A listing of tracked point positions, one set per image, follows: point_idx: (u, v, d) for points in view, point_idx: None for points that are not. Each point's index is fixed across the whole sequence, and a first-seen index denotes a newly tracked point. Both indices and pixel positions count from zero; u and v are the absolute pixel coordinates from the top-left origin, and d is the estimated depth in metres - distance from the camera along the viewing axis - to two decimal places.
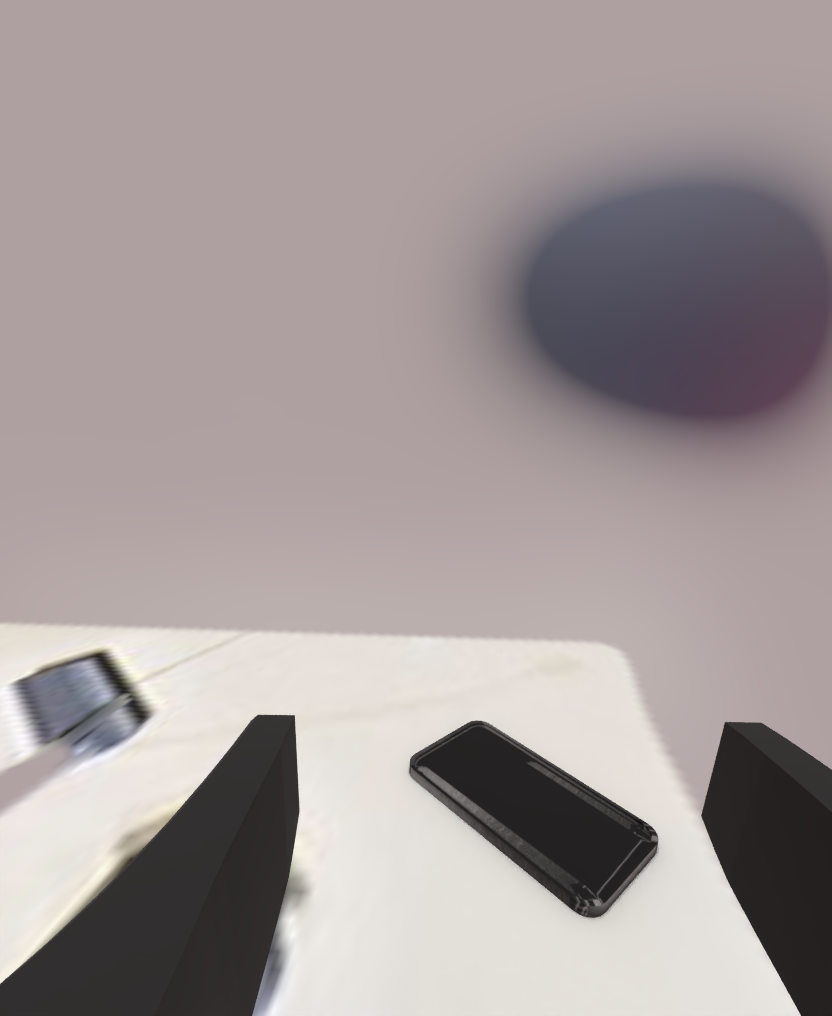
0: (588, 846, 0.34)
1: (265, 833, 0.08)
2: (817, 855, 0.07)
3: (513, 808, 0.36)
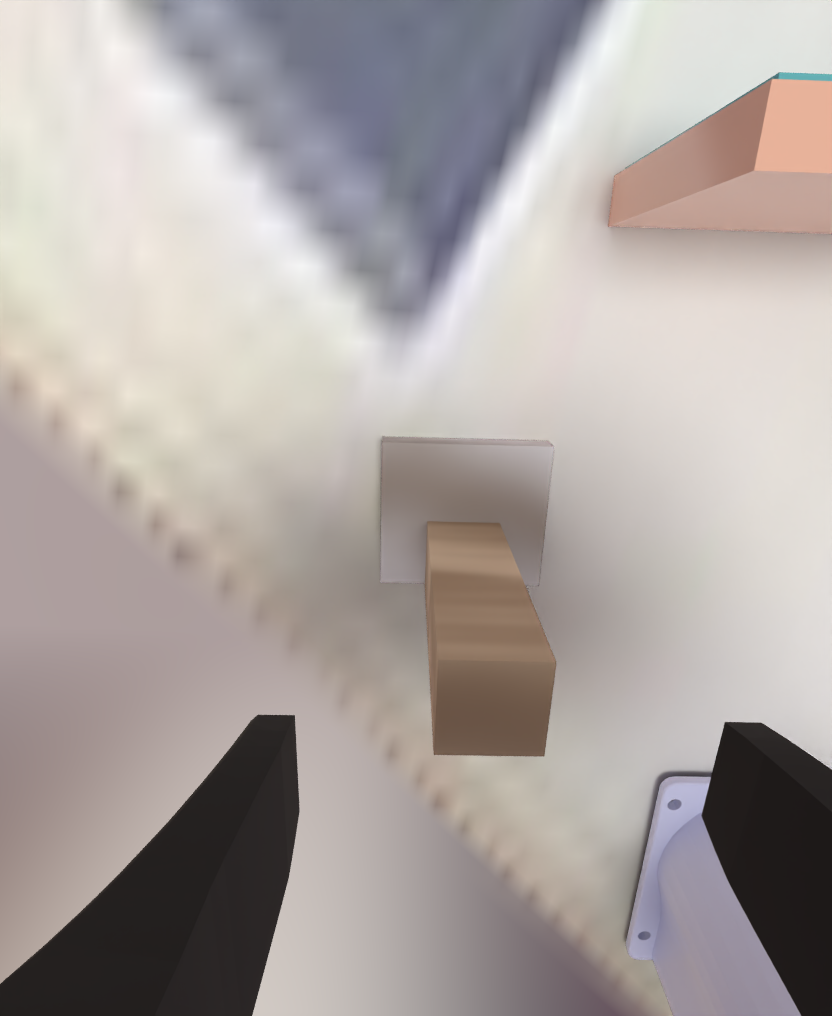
0: None
1: (265, 833, 0.08)
2: (817, 855, 0.07)
3: None
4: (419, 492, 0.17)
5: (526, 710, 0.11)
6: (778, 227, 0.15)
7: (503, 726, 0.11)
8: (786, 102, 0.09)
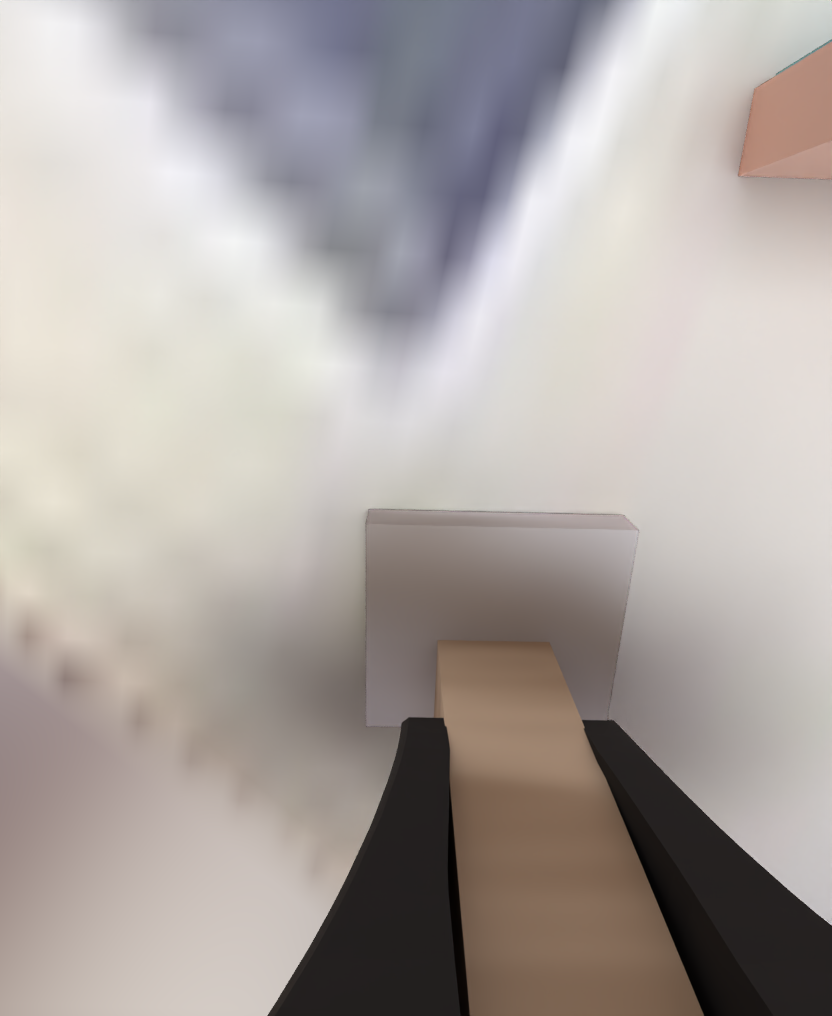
0: None
1: None
2: None
3: None
4: (424, 598, 0.11)
5: None
6: None
7: None
8: None
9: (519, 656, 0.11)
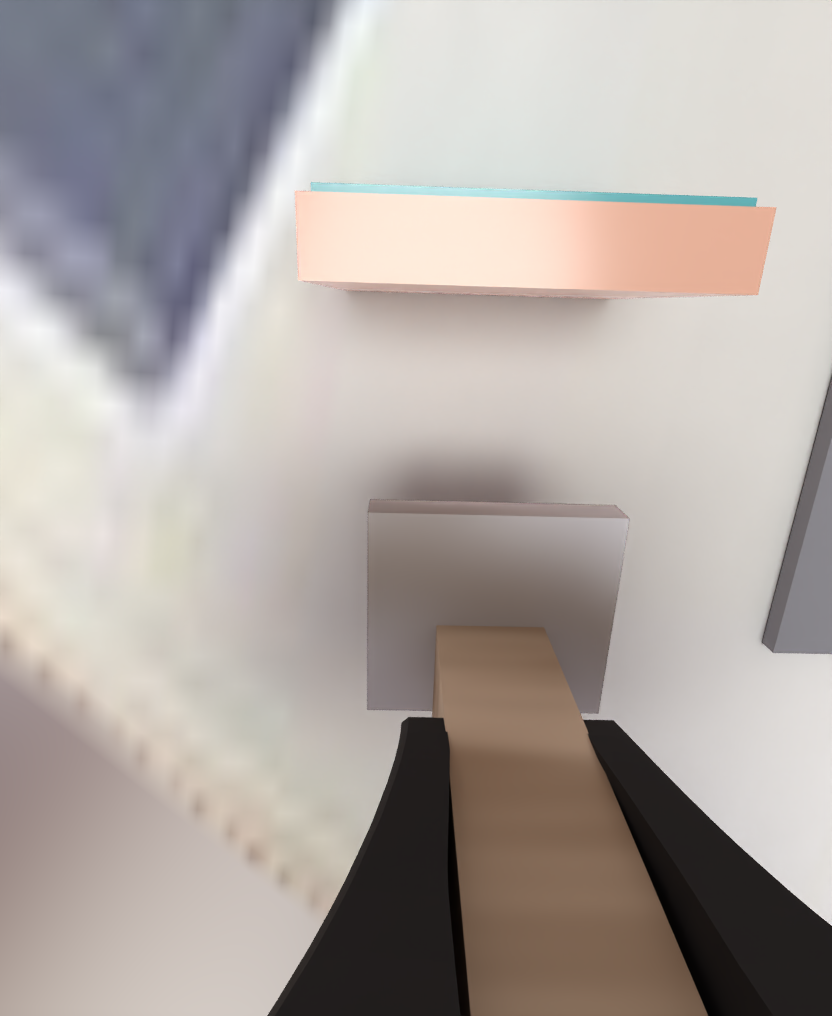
0: None
1: None
2: None
3: None
4: (424, 584, 0.11)
5: None
6: None
7: None
8: (315, 214, 0.08)
9: (514, 640, 0.11)
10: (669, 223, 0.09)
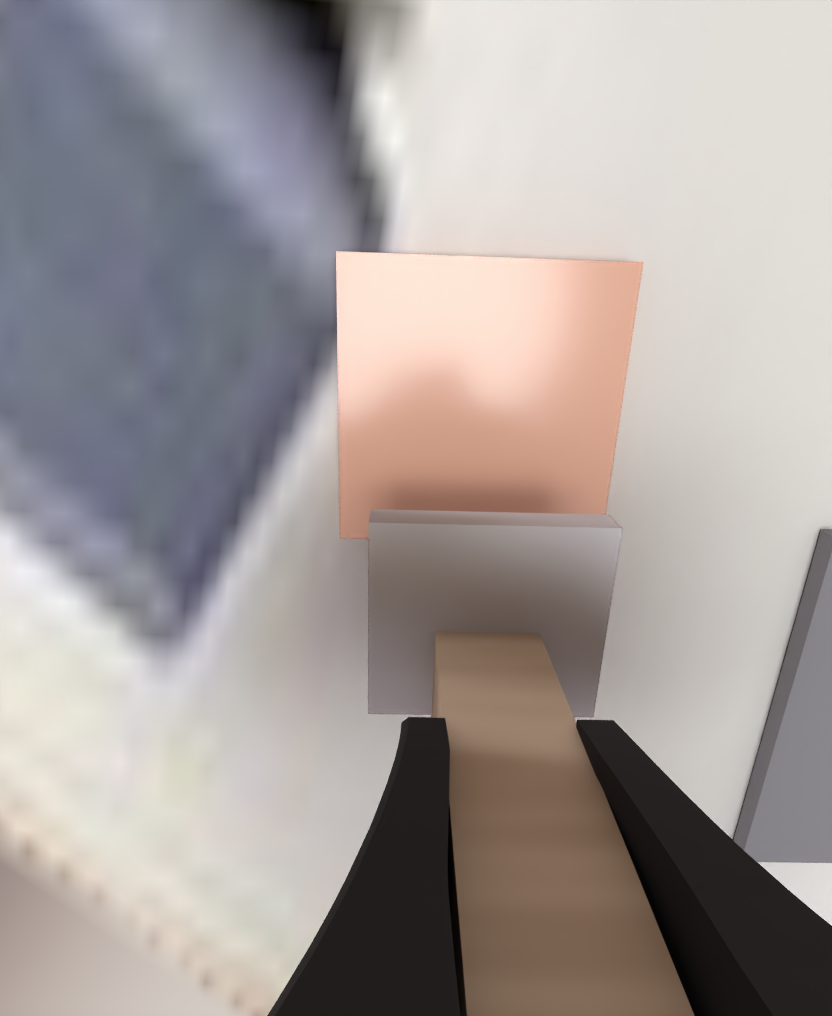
0: None
1: None
2: (630, 853, 0.07)
3: None
4: (423, 592, 0.12)
5: None
6: (495, 508, 0.15)
7: None
8: None
9: (511, 646, 0.12)
10: None
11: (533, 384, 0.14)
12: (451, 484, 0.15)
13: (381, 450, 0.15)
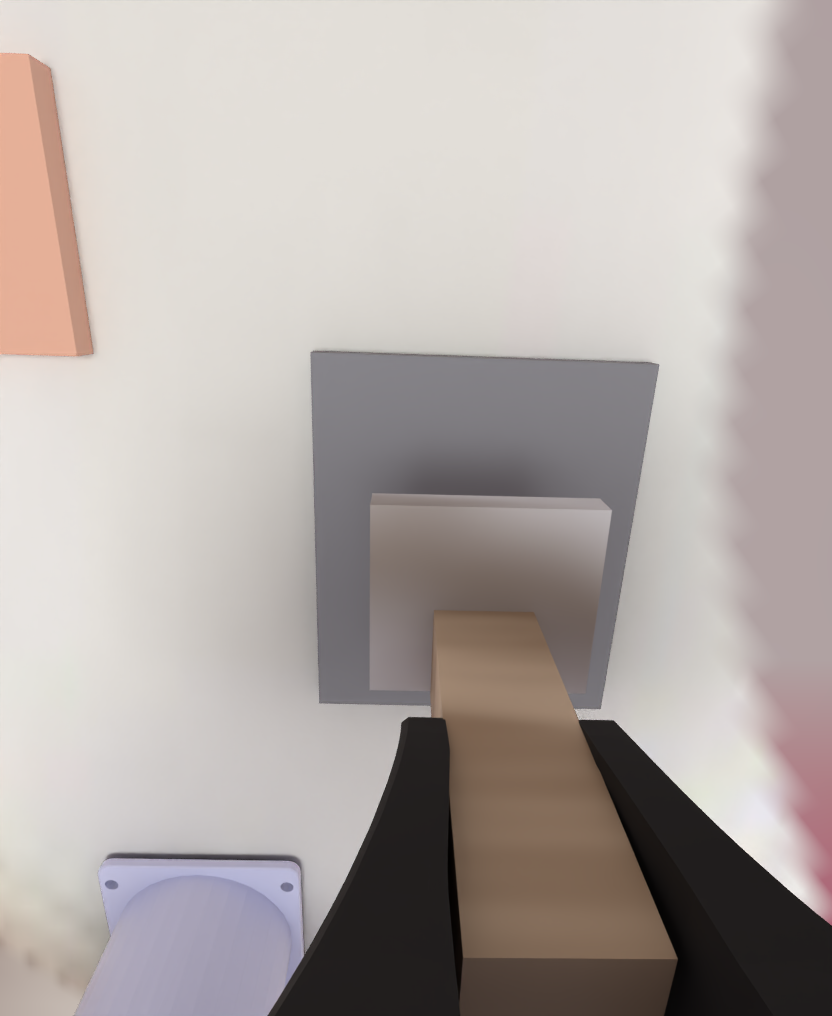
0: None
1: None
2: None
3: None
4: (422, 572, 0.12)
5: None
6: None
7: None
8: None
9: (506, 623, 0.12)
10: None
11: None
12: None
13: None
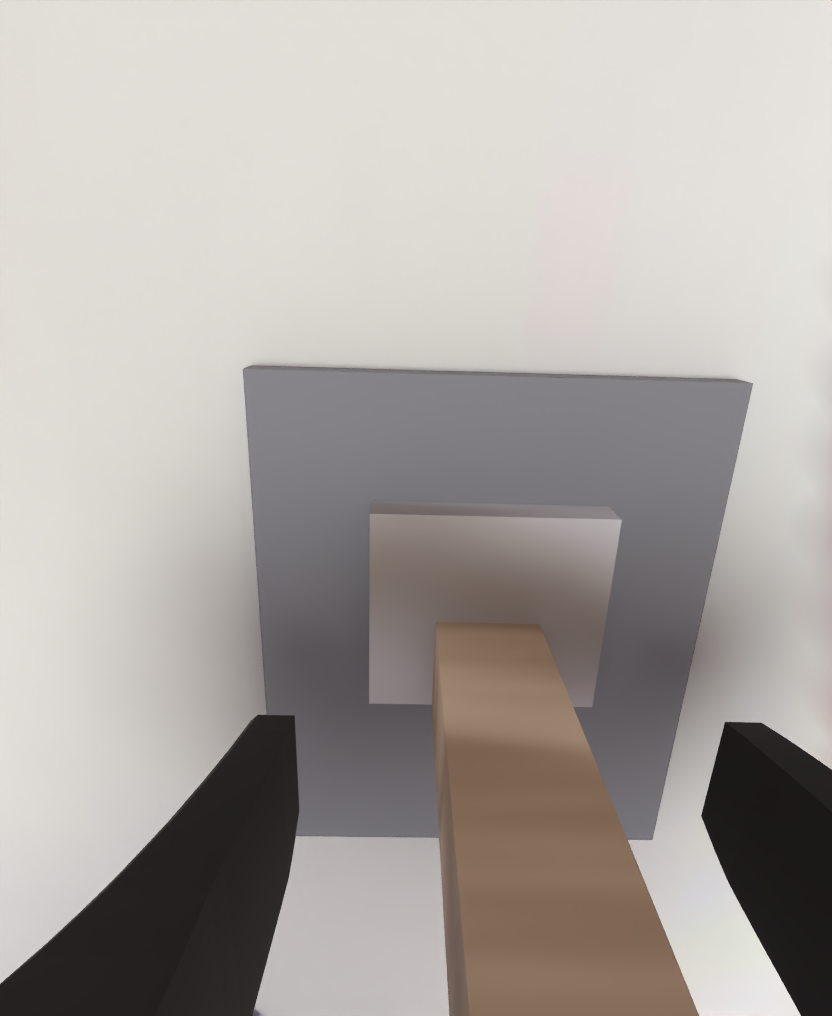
0: None
1: (265, 833, 0.08)
2: (817, 855, 0.07)
3: None
4: (424, 583, 0.12)
5: None
6: None
7: None
8: None
9: (511, 636, 0.12)
10: None
11: None
12: None
13: None
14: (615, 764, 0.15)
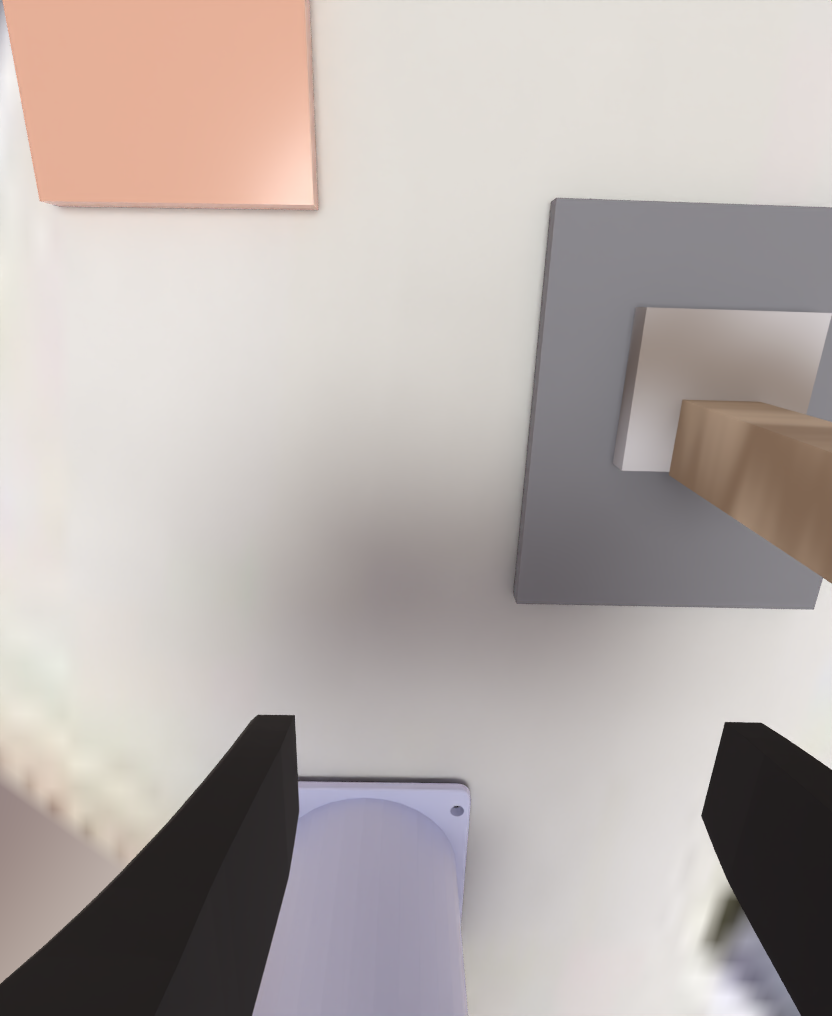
0: None
1: (265, 833, 0.08)
2: (817, 855, 0.07)
3: None
4: (678, 366, 0.16)
5: None
6: (195, 161, 0.15)
7: None
8: None
9: (746, 404, 0.16)
10: None
11: (208, 3, 0.14)
12: (144, 132, 0.14)
13: (63, 89, 0.14)
14: None
